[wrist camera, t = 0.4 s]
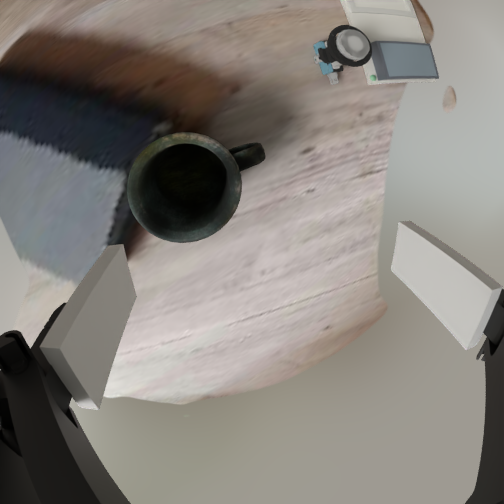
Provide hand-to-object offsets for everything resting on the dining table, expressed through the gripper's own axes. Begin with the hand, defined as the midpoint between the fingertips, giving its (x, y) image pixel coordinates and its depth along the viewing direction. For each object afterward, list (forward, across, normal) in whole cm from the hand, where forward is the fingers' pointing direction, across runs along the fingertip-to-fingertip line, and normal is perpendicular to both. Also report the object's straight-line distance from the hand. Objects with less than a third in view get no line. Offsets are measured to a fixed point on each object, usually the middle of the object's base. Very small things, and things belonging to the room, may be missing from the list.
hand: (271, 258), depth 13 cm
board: (+27, +24, +26) cm, 44 cm away
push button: (+27, +13, +15) cm, 34 cm away
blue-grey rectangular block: (+26, +26, +18) cm, 41 cm away
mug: (+27, -4, +1) cm, 28 cm away
